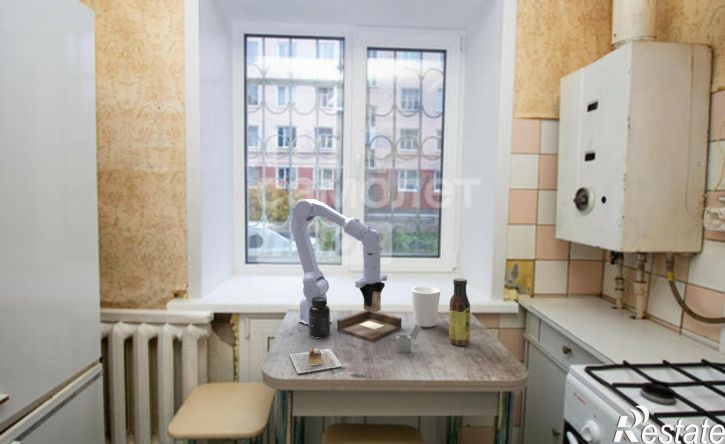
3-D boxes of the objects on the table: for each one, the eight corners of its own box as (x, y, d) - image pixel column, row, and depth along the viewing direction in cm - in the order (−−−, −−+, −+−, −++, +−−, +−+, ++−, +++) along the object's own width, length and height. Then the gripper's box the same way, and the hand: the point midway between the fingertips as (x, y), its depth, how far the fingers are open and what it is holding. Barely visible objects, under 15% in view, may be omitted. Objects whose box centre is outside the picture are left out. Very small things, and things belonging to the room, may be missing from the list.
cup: (405, 322, 137) (406, 287, 136) (428, 319, 141) (429, 285, 140) (421, 332, 128) (422, 294, 127) (445, 327, 132) (446, 291, 131)
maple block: (374, 312, 127) (375, 294, 127) (363, 309, 131) (363, 291, 130) (380, 310, 130) (380, 292, 129) (369, 307, 133) (369, 289, 132)
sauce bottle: (470, 347, 115) (471, 282, 114) (448, 345, 117) (450, 281, 115) (468, 339, 122) (470, 277, 120) (448, 337, 123) (449, 276, 121)
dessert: (289, 358, 109) (289, 341, 108) (330, 352, 113) (330, 336, 112) (297, 377, 97) (297, 359, 97) (342, 369, 102) (342, 352, 101)
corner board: (337, 330, 129) (337, 320, 129) (368, 318, 141) (368, 309, 141) (371, 341, 119) (371, 330, 119) (401, 328, 131) (401, 318, 131)
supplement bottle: (304, 334, 125) (304, 298, 124) (321, 329, 130) (321, 294, 129) (316, 340, 120) (316, 302, 119) (334, 334, 125) (334, 298, 124)
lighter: (396, 352, 112) (397, 325, 111) (395, 350, 113) (396, 323, 113) (420, 352, 112) (421, 325, 111) (419, 349, 113) (420, 323, 113)
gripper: (366, 270, 121) (366, 312, 122) (394, 263, 132) (393, 302, 133) (350, 267, 126) (350, 307, 127) (378, 261, 137) (378, 298, 138)
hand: (371, 304), depth 130 cm, fingers closed on maple block, 3 cm apart
